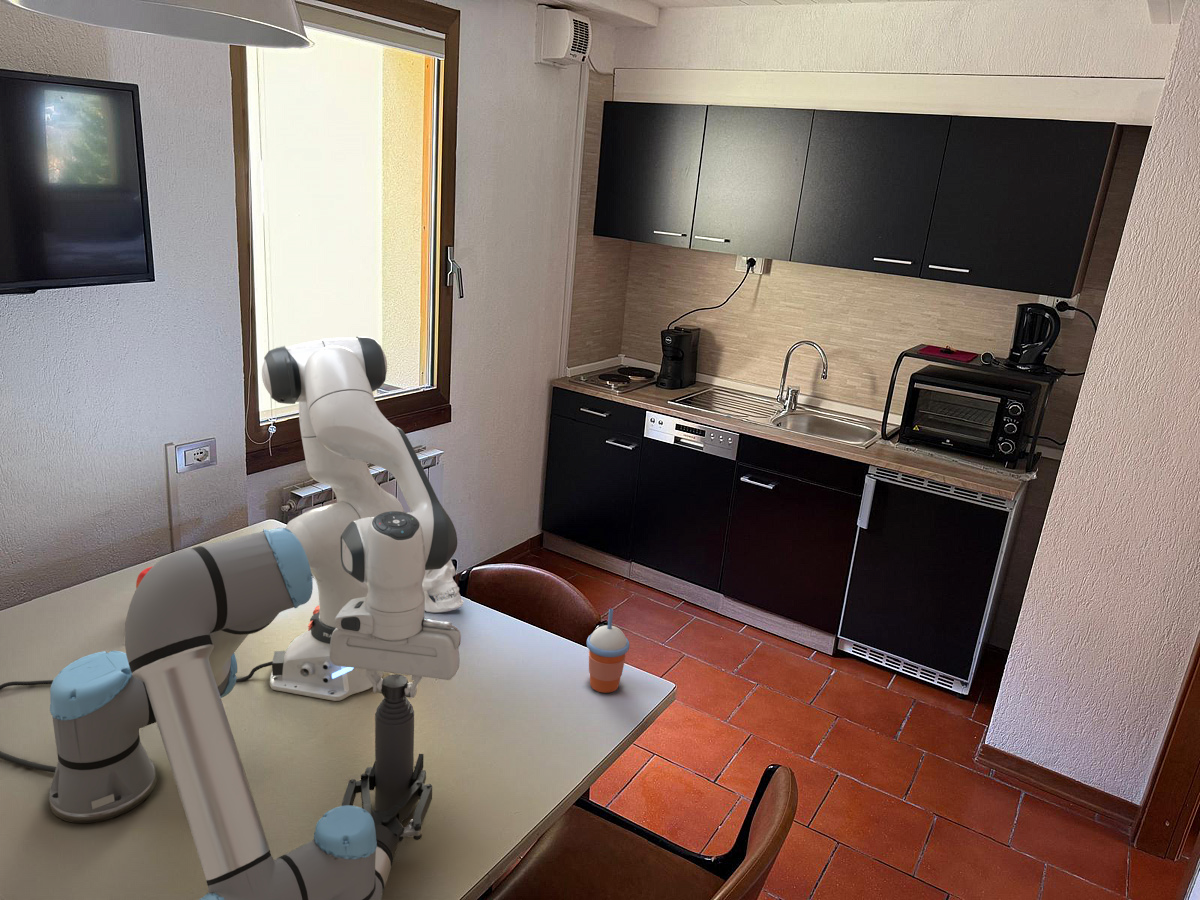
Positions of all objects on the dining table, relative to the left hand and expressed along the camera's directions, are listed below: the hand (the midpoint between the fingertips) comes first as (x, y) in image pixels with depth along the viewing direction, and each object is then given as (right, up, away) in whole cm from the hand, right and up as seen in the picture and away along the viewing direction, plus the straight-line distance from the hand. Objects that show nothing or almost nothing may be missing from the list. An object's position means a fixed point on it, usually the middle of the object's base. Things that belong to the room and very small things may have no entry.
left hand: (401, 759), depth 146 cm
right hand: (+1, +14, -10) cm, 17 cm away
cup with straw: (+35, +2, +37) cm, 51 cm away
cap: (+1, +16, -10) cm, 19 cm away
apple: (-69, +16, +54) cm, 89 cm away
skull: (-10, +15, +67) cm, 69 cm away
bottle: (0, -7, -3) cm, 8 cm away
